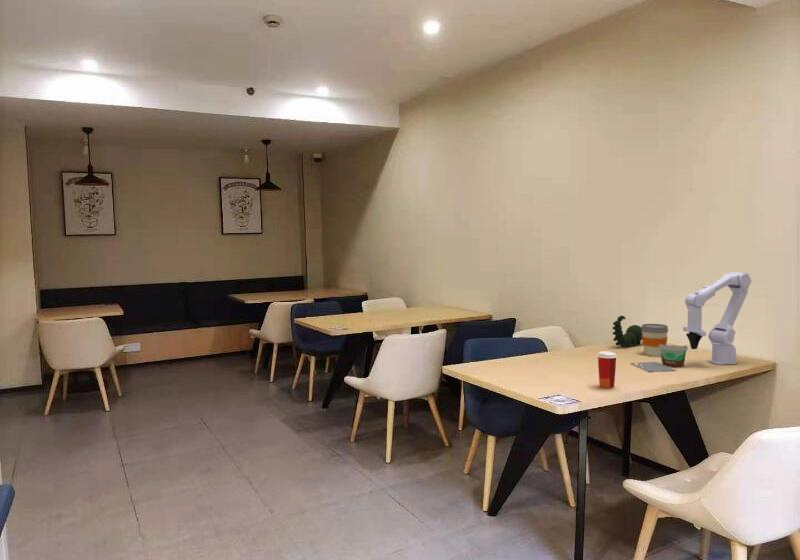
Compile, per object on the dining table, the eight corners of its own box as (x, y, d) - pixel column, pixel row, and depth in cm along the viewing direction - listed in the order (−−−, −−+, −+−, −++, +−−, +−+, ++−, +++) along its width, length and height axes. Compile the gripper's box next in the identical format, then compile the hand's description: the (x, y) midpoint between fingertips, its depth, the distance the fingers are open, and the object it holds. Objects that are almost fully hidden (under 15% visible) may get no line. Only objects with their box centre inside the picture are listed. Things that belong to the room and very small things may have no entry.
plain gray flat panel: (655, 362, 269) (655, 361, 269) (675, 370, 252) (675, 370, 252) (629, 363, 268) (629, 362, 268) (648, 372, 251) (648, 371, 251)
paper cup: (612, 383, 233) (612, 350, 232) (620, 388, 225) (620, 354, 224) (593, 384, 233) (593, 351, 232) (600, 389, 225) (601, 355, 224)
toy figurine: (624, 353, 299) (651, 343, 312) (622, 318, 296) (650, 309, 310) (609, 350, 307) (636, 340, 320) (607, 316, 304) (634, 308, 318)
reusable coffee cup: (635, 353, 289) (635, 325, 288) (652, 351, 294) (653, 322, 293) (655, 358, 278) (656, 328, 276) (673, 355, 283) (673, 326, 282)
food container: (657, 366, 261) (658, 345, 260) (658, 363, 266) (658, 343, 265) (687, 368, 255) (687, 347, 254) (687, 366, 260) (687, 344, 260)
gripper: (677, 318, 266) (676, 346, 267) (695, 322, 252) (695, 352, 253) (691, 317, 267) (690, 345, 268) (710, 322, 252) (710, 351, 253)
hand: (694, 348), depth 260 cm, fingers closed
